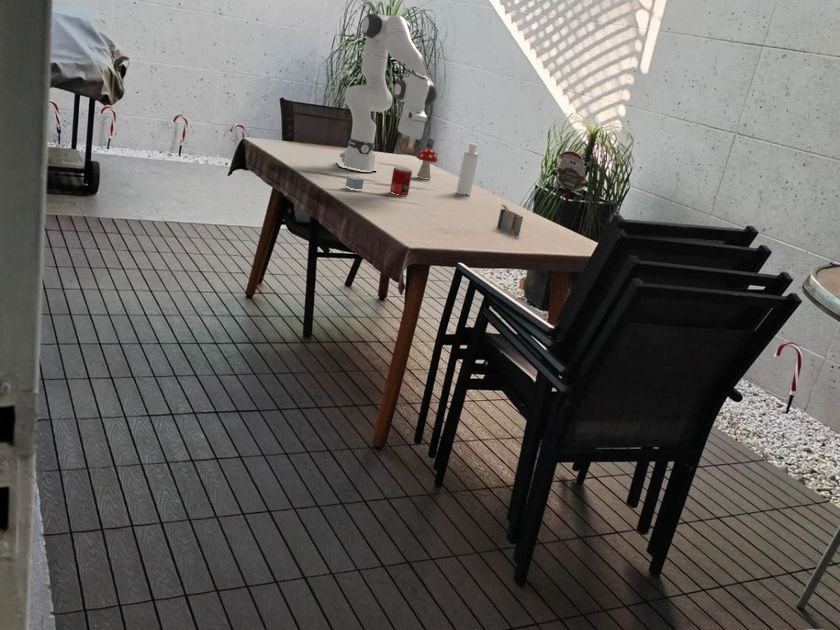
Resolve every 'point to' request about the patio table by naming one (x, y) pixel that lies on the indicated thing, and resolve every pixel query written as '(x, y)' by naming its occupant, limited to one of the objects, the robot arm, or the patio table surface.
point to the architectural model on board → (510, 221)
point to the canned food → (401, 180)
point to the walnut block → (404, 145)
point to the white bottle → (468, 170)
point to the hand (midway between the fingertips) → (407, 146)
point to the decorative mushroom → (426, 162)
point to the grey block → (354, 182)
